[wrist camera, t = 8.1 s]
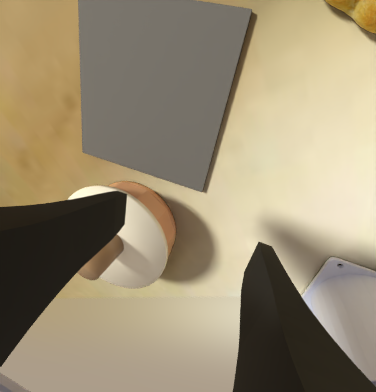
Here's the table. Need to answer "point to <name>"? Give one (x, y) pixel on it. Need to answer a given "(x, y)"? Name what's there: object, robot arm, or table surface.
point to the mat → (157, 82)
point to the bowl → (152, 207)
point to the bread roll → (358, 11)
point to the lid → (128, 246)
